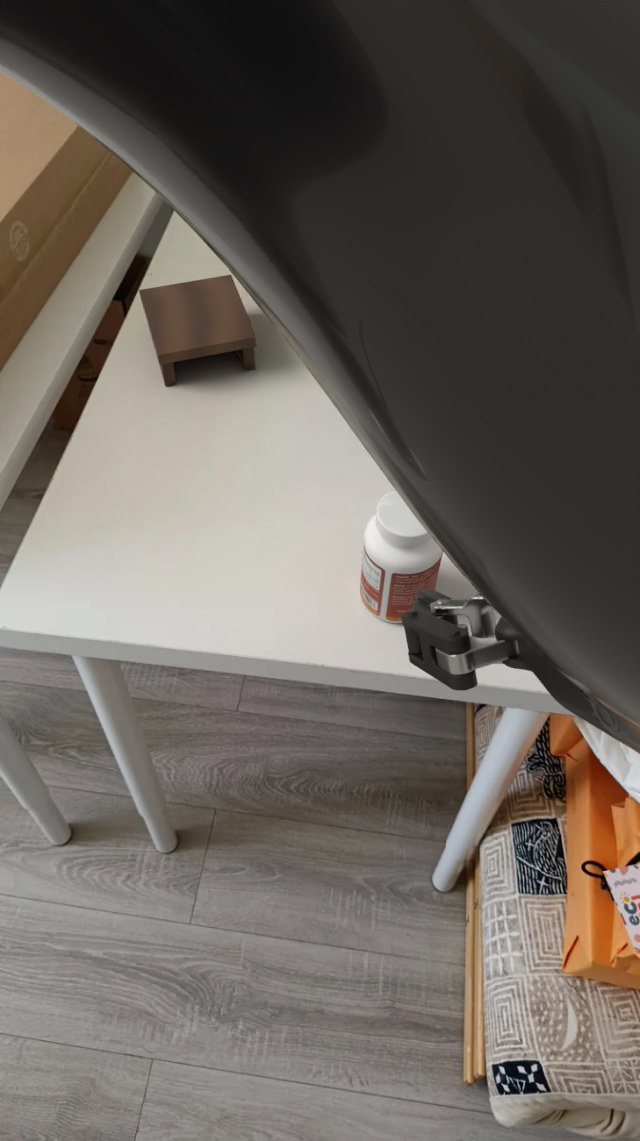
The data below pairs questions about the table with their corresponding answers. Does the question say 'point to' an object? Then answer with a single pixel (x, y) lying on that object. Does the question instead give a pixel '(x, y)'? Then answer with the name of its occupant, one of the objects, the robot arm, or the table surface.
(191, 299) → the small wooden stand
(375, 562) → the pill bottle
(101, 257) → the table surface
